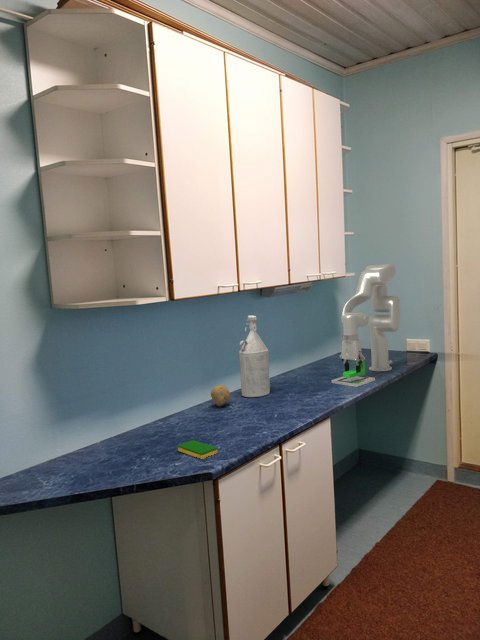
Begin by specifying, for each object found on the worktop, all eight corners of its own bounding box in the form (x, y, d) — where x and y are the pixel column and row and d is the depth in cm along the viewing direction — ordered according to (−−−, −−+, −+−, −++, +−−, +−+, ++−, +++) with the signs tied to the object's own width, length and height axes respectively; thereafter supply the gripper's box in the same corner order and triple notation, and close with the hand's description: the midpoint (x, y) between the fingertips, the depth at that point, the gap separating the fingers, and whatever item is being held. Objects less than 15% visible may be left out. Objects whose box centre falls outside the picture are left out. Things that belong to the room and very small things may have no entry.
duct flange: (349, 377, 278) (349, 373, 278) (375, 380, 266) (374, 377, 266) (331, 382, 268) (331, 379, 268) (356, 386, 256) (356, 383, 256)
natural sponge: (224, 402, 244) (223, 381, 243) (234, 405, 236) (233, 384, 236) (208, 406, 239) (206, 385, 238) (218, 409, 232) (216, 388, 231)
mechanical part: (356, 372, 273) (355, 358, 272) (365, 374, 268) (364, 359, 267) (341, 376, 266) (340, 361, 265) (349, 378, 261) (349, 362, 260)
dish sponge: (193, 446, 186) (193, 439, 186) (217, 454, 176) (217, 447, 176) (177, 451, 182) (177, 445, 181) (201, 460, 172) (201, 453, 171)
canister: (234, 396, 253) (229, 317, 249) (257, 389, 266) (252, 313, 262) (254, 400, 244) (248, 318, 240) (276, 391, 257) (271, 314, 253)
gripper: (333, 337, 269) (334, 371, 270) (360, 339, 256) (362, 374, 257) (342, 336, 274) (343, 368, 275) (369, 337, 261) (370, 372, 262)
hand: (352, 371), depth 266 cm, fingers closed on mechanical part, 6 cm apart
